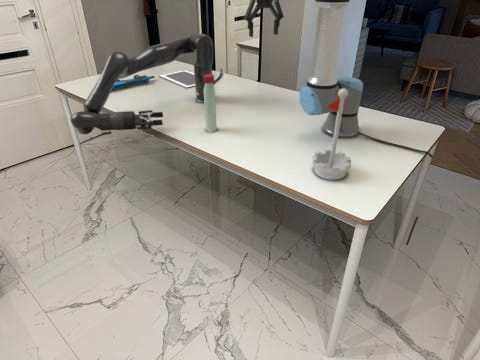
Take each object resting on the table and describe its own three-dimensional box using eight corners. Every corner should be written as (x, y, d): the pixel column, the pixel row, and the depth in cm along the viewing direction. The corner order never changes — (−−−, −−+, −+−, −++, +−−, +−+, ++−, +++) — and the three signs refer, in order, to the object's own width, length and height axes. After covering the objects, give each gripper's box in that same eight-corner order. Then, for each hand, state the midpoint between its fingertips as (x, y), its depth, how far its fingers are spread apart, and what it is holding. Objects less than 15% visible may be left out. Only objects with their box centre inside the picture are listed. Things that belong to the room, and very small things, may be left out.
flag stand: (334, 159, 128) (348, 80, 112) (356, 176, 118) (375, 92, 101) (304, 166, 124) (314, 84, 108) (324, 184, 114) (338, 97, 97)
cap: (216, 82, 139) (215, 75, 138) (207, 84, 137) (206, 77, 135) (210, 79, 142) (210, 73, 140) (201, 81, 140) (201, 75, 138)
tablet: (159, 76, 220) (159, 75, 220) (185, 70, 231) (185, 69, 231) (186, 88, 199) (186, 87, 199) (214, 81, 210) (214, 80, 210)
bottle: (218, 130, 151) (216, 76, 138) (209, 132, 148) (206, 78, 135) (213, 126, 154) (210, 74, 141) (204, 129, 152) (200, 76, 139)
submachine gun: (140, 69, 223) (158, 75, 206) (141, 75, 225) (159, 81, 208) (87, 79, 204) (103, 87, 188) (89, 85, 206) (105, 94, 190)
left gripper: (127, 122, 150) (164, 120, 152) (123, 136, 139) (163, 133, 141) (123, 106, 146) (162, 104, 148) (119, 119, 134) (161, 116, 137)
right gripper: (284, -17, 160) (281, 32, 172) (236, -15, 151) (237, 36, 163) (293, -16, 155) (289, 34, 166) (244, -14, 146) (243, 38, 157)
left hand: (162, 118), depth 145 cm, fingers open, 8 cm apart
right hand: (263, 35), depth 165 cm, fingers open, 13 cm apart
